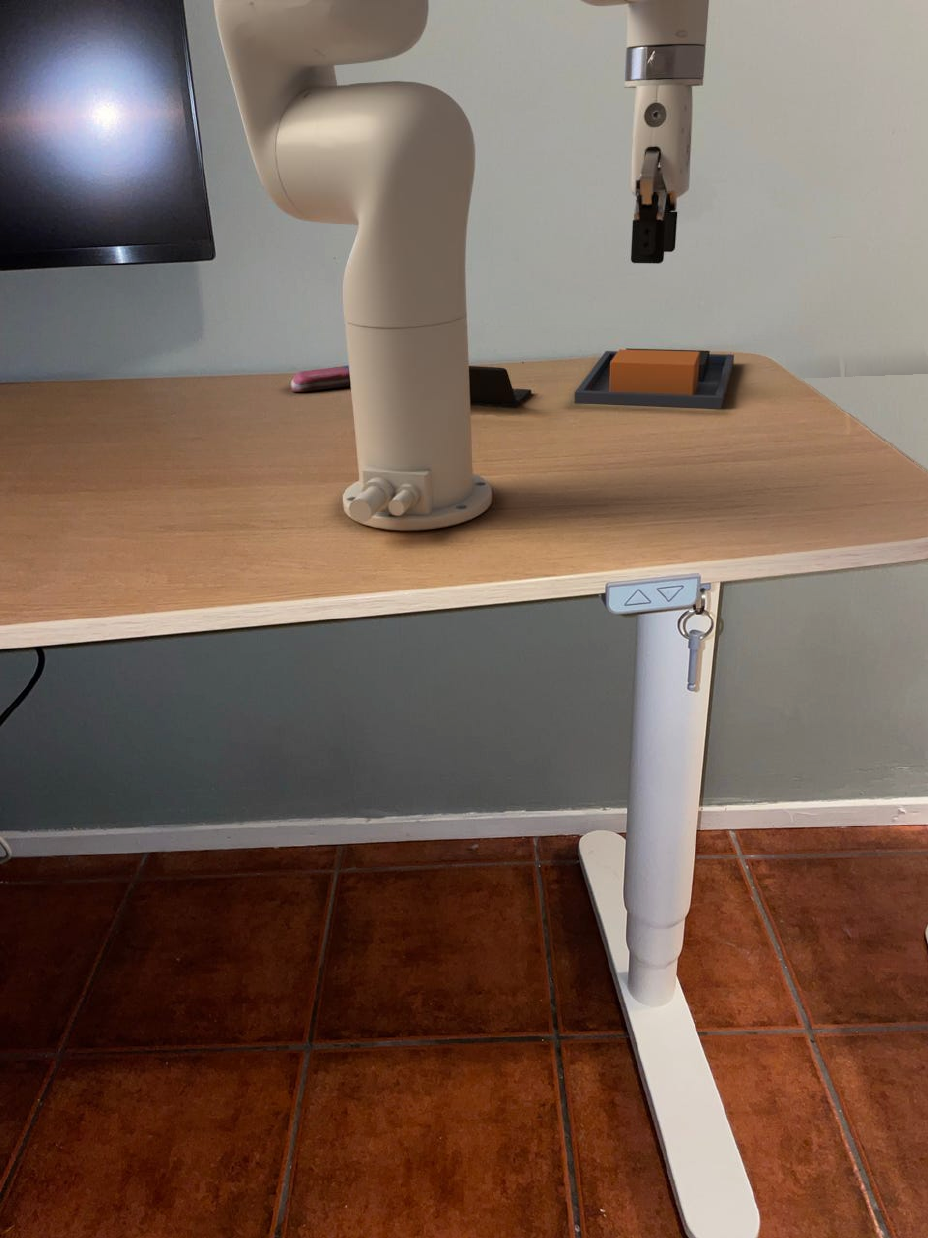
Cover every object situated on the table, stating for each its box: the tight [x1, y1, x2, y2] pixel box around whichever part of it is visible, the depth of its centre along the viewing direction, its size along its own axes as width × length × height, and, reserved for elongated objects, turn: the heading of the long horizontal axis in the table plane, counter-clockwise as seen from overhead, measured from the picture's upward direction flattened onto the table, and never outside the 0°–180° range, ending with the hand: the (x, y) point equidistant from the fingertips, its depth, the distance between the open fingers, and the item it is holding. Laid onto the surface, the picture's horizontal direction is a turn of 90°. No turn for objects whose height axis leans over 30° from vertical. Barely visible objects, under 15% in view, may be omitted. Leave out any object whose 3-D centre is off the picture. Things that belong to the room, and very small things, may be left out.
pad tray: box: [574, 350, 735, 410], centre depth 115 cm, size 20×16×2 cm
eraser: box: [290, 364, 351, 393], centre depth 121 cm, size 11×4×2 cm, turn 105°
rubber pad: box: [625, 347, 711, 382], centre depth 118 cm, size 7×10×2 cm
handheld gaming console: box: [469, 365, 532, 409], centre depth 110 cm, size 12×7×10 cm
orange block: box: [609, 349, 700, 395], centre depth 110 cm, size 6×9×4 cm, turn 73°
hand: (653, 256), depth 104 cm, fingers open, 9 cm apart
